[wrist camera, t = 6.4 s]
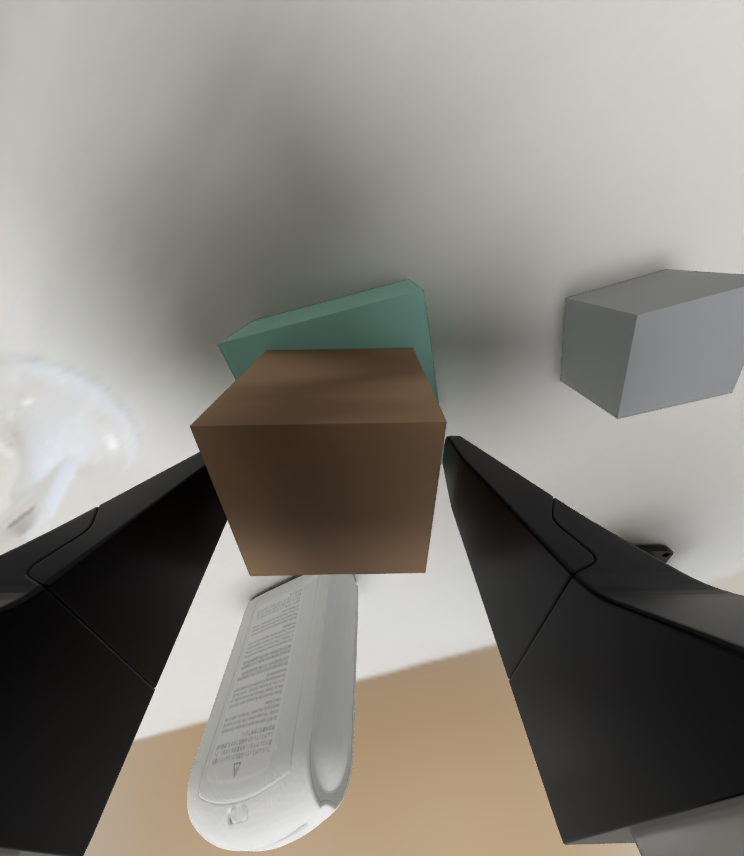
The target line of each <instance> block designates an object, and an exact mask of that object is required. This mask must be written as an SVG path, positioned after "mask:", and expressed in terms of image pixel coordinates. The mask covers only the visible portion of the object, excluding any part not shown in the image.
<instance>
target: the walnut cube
mask: <svg viewBox="0 0 744 856" xmlns="http://www.w3.org/2000/svg"><path fill="white" fill-rule="evenodd" d="M446 423H447V422H446V419H445V417H444V415H443V413H442V411H441V408H440V406H439V404H438V402H437V400H436V397H435V395H434V393H433V391H432V389H431V386H430V384H429V382H428V380H427V378H426V375H425V373H424V371H423V369H422V367H421V364H420V362H419V360H418V358H417V356H416V353H415V351H414V349H413V348H369V349H308V350H266V351H265V352H264V353H263V354H262V355H261V356H260V357H259V358H258V359H257V360H256V361H255V362H254V363H253V364H252V365H251V366H250V367H249V368H248V369H247V370H246V371H245V372H244V373H243V374H242V375H241V376H240V377H239V378H238V379H237V380H236V381H235V382H234V383H233V384H232V385H231V386H230V387H229V388H228V389H227V390H226V391H225V392H224V393H223V394H222V395H221V396H220V397H219V398H218V399H217V400H216V401H215V402H214V403H213V404H212V405H211V406H210V407H209V408H208V409H207V410H206V411H205V412H204V413H203V414H202V415H201V416H200V417H199V418H198V419H197V420H196V421H195V422H194V423H193V424H192V425H190V428H191V430H192V433H193V435H194V438H195V440H196V443H197V445H198V448H199V450H200V453H201V455H202V458H203V460H204V463H205V465H206V468H207V470H208V473H209V475H210V478H211V480H212V483H213V485H214V488H215V490H216V493H217V495H218V497H219V500H220V502H221V505H222V507H223V510H224V512H225V515H226V517H227V520H228V522H229V525H230V527H231V530H232V532H233V535H234V537H235V540H236V542H237V545H238V547H239V550H240V552H241V555H242V557H243V560H244V562H245V565H246V567H247V570H248V572H249V575H250V576H275V575H331V574H387V573H425V571H426V564H427V557H428V550H429V543H430V536H431V529H432V522H433V515H434V507H435V500H436V493H437V486H438V479H439V472H440V465H441V458H442V451H443V444H444V437H445V430H446Z"/></svg>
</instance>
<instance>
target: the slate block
mask: <svg viewBox="0 0 744 856" xmlns="http://www.w3.org/2000/svg"><path fill="white" fill-rule="evenodd" d="M743 365H744V275H743V274H728V273H713V272H698V271H683V270H668V269H666V270H662V271H659V272H655V273H652V274H648V275H644V276H641V277H637V278H634V279H630V280H627V281H623V282H620V283H616V284H613V285H609V286H606V287H602V288H599V289H595V290H592V291H588V292H585V293H581V294H577V295H574V296H570V297H567V298H566V303H565V317H564V332H563V347H562V362H561V376H560V380H561V381H562V382H563V383H565V384H566V385H568V386H569V387H571V388H572V389H574V390H575V391H577V392H578V393H580V394H581V395H583V396H584V397H586V398H587V399H589V400H590V401H592V402H593V403H595V404H596V405H598V406H599V407H601V408H602V409H604V410H605V411H607V412H608V413H610V414H611V415H613V416H614V417H615V418H617V419H619V418H624V417H628V416H632V415H637V414H641V413H645V412H650V411H654V410H659V409H663V408H667V407H672V406H676V405H681V404H685V403H689V402H694V401H698V400H702V399H707V398H711V397H716V396H720V395H724V394H729V393H732V392H733V389H734V387H735V384H736V382H737V380H738V377H739V375H740V372H741V370H742V367H743Z"/></svg>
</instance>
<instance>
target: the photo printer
mask: <svg viewBox="0 0 744 856" xmlns="http://www.w3.org/2000/svg"><path fill="white" fill-rule="evenodd" d="M357 623H358V587H357V585H356V584H355V578H354V576H353V574H331V575H302V576H300V577H298V578H296V579H293V580H291V581H289V582H287V583H285V584H283V585H281V586H278V587H276V588H274V589H272V590H270V591H268V592H266V593H264V594H262V595H260V596H258V597H256V598H255V599H253V600H252V601H251V602H250V603H249V604H248V606H247V608H246V610H245V613H244V616H243V619H242V622H241V625H240V628H239V631H238V634H237V637H236V640H235V643H234V646H233V649H232V652H231V655H230V658H229V661H228V664H227V667H226V670H225V673H224V676H223V679H222V682H221V685H220V688H219V691H218V694H217V697H216V699H215V702H214V705H213V708H212V711H211V714H210V717H209V720H208V723H207V726H206V729H205V732H204V735H203V738H202V741H201V744H200V747H199V750H198V752H197V755H196V759H195V761H194V764H193V767H192V771H191V775H190V778H189V784H188V790H187V791H188V792H187V807H188V814H189V818H190V820H191V822H192V824H193V826H194V827H195V829H196V830H197V831H198V833H199V834H200V835H201V836H203V838H204V839H206V840H207V841H208V842H210V843H211V844H213V845H215V846H217V847H219V848H222V849H226V850H233V851H265V850H270V849H275V848H278V847H281V846H283V845H286V844H288V843H290V842H293V841H295V840H297V839H299V838H300V837H302V836H304V835H305V834H307V833H308V832H310V831H311V830H313V829H314V828H315V827H317V826H318V825H319V824H320V823H321V822H323V821H324V820H325V819H326V818H328V817H329V816H330V815H331V814H332V813H333V812H334V811H335V810H336V809H337V808H338V807H339V805H340V804H341V802H342V800H343V798H344V796H345V794H346V791H347V788H348V785H349V780H350V776H351V770H352V762H353V743H354V716H355V686H356V655H357Z"/></svg>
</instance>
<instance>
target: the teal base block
mask: <svg viewBox="0 0 744 856" xmlns="http://www.w3.org/2000/svg"><path fill="white" fill-rule="evenodd" d="M217 345H218V347H219V348H220V350H221V352H222V354H223V356H224V358H225V360H226V362H227V364H228V366H229V368H230V369H231V371H232V373H233V375H234V377H235V379H236V380H237V379H238V378H239V377H240V376H241V375H242V374H243V373H244V372H245V371H246V370H247V369H248V368H249V367H250V366H251V365H252V364H253V363H254V362H255V361H256V360H257V359H258V358H259V357H260V356H261V355H262V354H263V353H264V352H265V351H266V350H308V349H369V348H413V349H414V351H415V353H416V356H417V358H418V360H419V362H420V364H421V367H422V369H423V371H424V373H425V375H426V378H427V380H428V382H429V384H430V386H431V389H432V391H433V393H434V395H435V397H436V400H437V402H438V395H437V387H436V380H435V372H434V365H433V358H432V350H431V343H430V335H429V328H428V320H427V313H426V305H425V298H424V290H423V289H422V288H420V287H419V286H417V285H416V284H415V283H413V282H412V281H410V280H409V279H407V280H404V281H400V282H396V283H392V284H389V285H385V286H381V287H378V288H374V289H370V290H366V291H363V292H359V293H355V294H352V295H348V296H344V297H340V298H337V299H333V300H329V301H325V302H322V303H318V304H314V305H311V306H307V307H303V308H299V309H296V310H292V311H288V312H285V313H281V314H277V315H273V316H270V317H266V318H262V319H258V320H255V321H253V322H251V323H249V324H248V325H246V326H245V327H243V328H241V329H240V330H238V331H237V332H235V333H234V334H232V335H230V336H229V337H227V338H226V339H224V340H223V341H221V342H219V343H218V344H217ZM438 404H439V402H438ZM443 452H444V444H443V451H442V458H441V463H443Z"/></svg>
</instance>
